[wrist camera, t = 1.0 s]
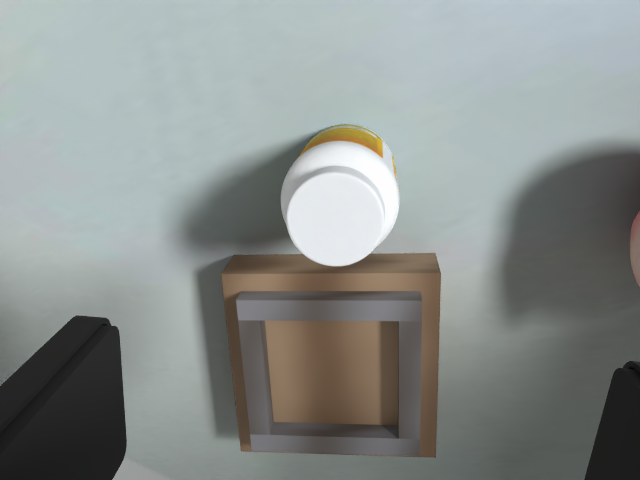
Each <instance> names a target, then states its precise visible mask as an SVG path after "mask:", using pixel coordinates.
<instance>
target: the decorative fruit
mask: <svg viewBox="0 0 640 480" xmlns="http://www.w3.org/2000/svg"><path fill="white" fill-rule="evenodd" d="M630 260H631V266H632V271H633V274H634V277H635V279H636V282H637V284H638V286H639V287H640V211H639V213H638V214H637V216H636V217H635V219H634V221H633V224H632V227H631V234H630Z"/></svg>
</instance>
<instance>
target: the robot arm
mask: <svg viewBox="0 0 640 480" xmlns="http://www.w3.org/2000/svg"><path fill="white" fill-rule="evenodd" d="M126 441H127V440H126V426H125V411H124V396H123V381H122V366H121V351H120V336H119V330H118V328H117V327H116V326H111V324H110V322H109V320H108V319H107V318H101V317H89V316H75V317H73V318H72V319H71V320H70V321H69V322H68V323H67V324H66V325H65V326H63V327H62V328H61V329H60V330H59V331H58V332H57V333H56V334H55V335H54V336H53V337H52V338H51V339H50V340H49V341H48V342H47V343H46V344H44V345H43V346H42V347H41V348H40V349H39V350H38V351H37V352H36V353H35V354H34V355H33V356H32V357H31V358H30V359H29V360H28V361H26V362H25V363H24V364H23V365H22V366H21V367H20V368H19V369H18V370H17V371H16V372H15V373H14V374H13V375H12V376H11V377H10V378H8V379H7V380H6V381H5V382H4V383H3V384H2V385H1V386H0V480H112V479H113V478H114V476H115V474H116V472H117V470H118V468H119V467H120V465H121V463H122V461H123V459H124V456H125V452H126ZM585 480H640V362H634V361H629V362H627V363H626V364H625V365H624V366H623V368H618V369H616V371H615V372H614V374H613V377H612V380H611V384H610V388H609V391H608V395H607V399H606V402H605V406H604V410H603V413H602V417H601V421H600V424H599V428H598V432H597V435H596V439H595V443H594V446H593V450H592V454H591V457H590V461H589V465H588V468H587V472H586V476H585Z"/></svg>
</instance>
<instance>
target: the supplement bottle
mask: <svg viewBox="0 0 640 480" xmlns="http://www.w3.org/2000/svg"><path fill="white" fill-rule="evenodd" d="M281 210H282V214H283V218H284V221H285V223H286V226H287V229H288V233H289V235H290V238H291V240H292V241H293V243H294V245H295V246H296V247H297V249H298V250H299V251H300V252H301V253H302V254H303V255H305V256H306V257H307V258H309V259H311V260H312V261H314V262H317V263H319V264H323V265H327V266H346V265H350V264H353V263H356V262H358V261H360V260H362V259H363V258H365V257H366V256H367V255H369V254H370V253H371V252H372V251H373V249H374V248H376V247H377V246H378V245H379V244H380V243H381V242H382V241H383V240H384V239H385V238H386V237H387V236H388V234H389V233H390V231H391V230H392V228H393V226H394V224H395V221H396V219H397V215H398V210H399V187H398V182H397V174H396V166H395V162H394V158H393V156H392V153H391V151H390V149H389V147H388V146H387V144H386V143H385V141H384V140H383V139H382V138H381V137H380V136H379V135H377V134H376V133H375V132H373V131H371V130H370V129H368V128H365V127H363V126H360V125H355V124H339V125H335V126H331V127H329V128H327V129H324V130H323V131H321V132H319V133H318V134H317V135H316V136H314V137H313V138H312V139H311V140H310V141H309V143H308V144H307V145H306V146H305V148H304V149H303V151H302V152H301V154H300V155H299V156H298V158H297V159H296V160H295V162H294V163H293V164H292V166H291V168H290V169H289V171H288V173H287V175H286V177H285V179H284V182H283V186H282V191H281Z"/></svg>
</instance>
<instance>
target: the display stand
mask: <svg viewBox="0 0 640 480" xmlns="http://www.w3.org/2000/svg"><path fill="white" fill-rule="evenodd" d="M221 277H222V286H223V295H224V304H225V313H226V322H227V331H228V340H229V349H230V358H231V367H232V376H233V385H234V394H235V403H236V411H237V420H238V429H239V438H240V447H241V451H249V452H280V453H311V454H342V455H373V456H404V457H435V458H436V430H437V393H438V357H439V321H440V284H441V272H440V268H439V265H438V261H437V258H436V254H435V253H427V254H369V255H367V256H366V257H365V258H363V259H362V260H360V261H358V262H356V263H353V264H350V265H346V266H327V265H323V264H319V263H317V262H314V261H312V260H311V259H309V258H307V257H306V256H305V255H303V254H300V255H234V256H233V258H232V259H231V261H230V262H229V263H228V265H227V266H226V268H225V269H224V271H223V272H222V273H221Z"/></svg>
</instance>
